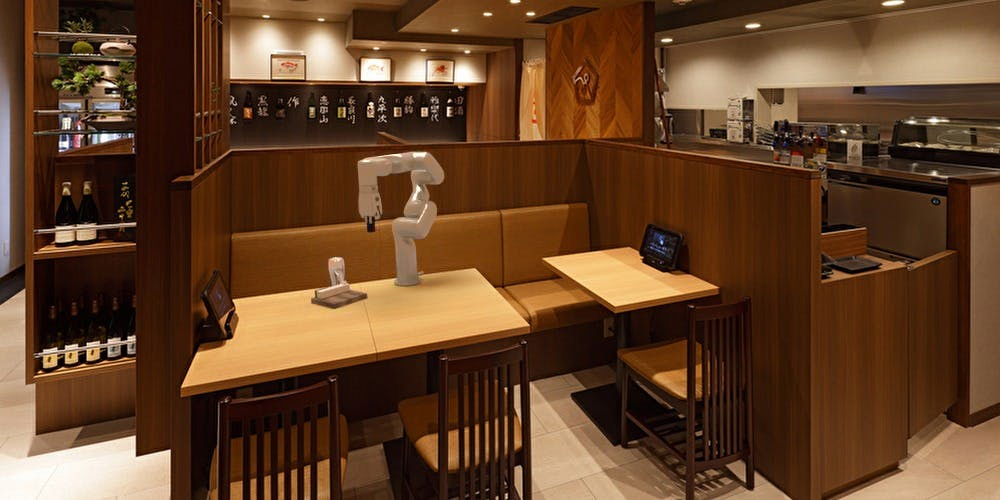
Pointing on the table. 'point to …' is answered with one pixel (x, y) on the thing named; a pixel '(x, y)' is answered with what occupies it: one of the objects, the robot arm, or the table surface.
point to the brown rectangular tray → (339, 298)
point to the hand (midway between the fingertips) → (371, 231)
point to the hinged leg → (333, 290)
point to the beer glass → (336, 270)
